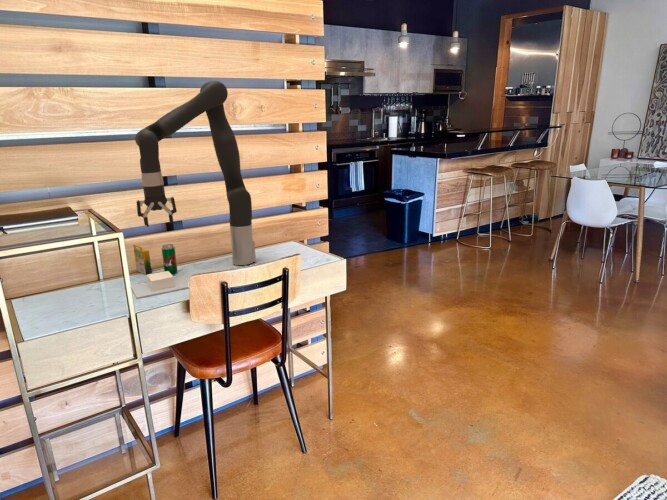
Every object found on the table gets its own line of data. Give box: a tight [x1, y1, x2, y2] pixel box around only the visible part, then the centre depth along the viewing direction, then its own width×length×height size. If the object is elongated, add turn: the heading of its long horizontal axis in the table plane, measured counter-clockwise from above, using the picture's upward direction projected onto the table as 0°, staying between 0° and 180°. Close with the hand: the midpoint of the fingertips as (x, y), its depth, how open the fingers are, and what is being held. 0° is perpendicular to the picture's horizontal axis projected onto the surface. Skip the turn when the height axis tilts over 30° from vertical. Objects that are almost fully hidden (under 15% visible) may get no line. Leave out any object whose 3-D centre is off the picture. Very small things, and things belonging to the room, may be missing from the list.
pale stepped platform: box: [131, 271, 189, 300], centre depth 175 cm, size 20×14×5 cm
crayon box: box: [132, 244, 153, 276], centre depth 191 cm, size 7×3×12 cm, turn 50°
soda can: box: [161, 243, 178, 276], centre depth 189 cm, size 5×5×12 cm
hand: (159, 225), depth 181 cm, fingers open, 8 cm apart
